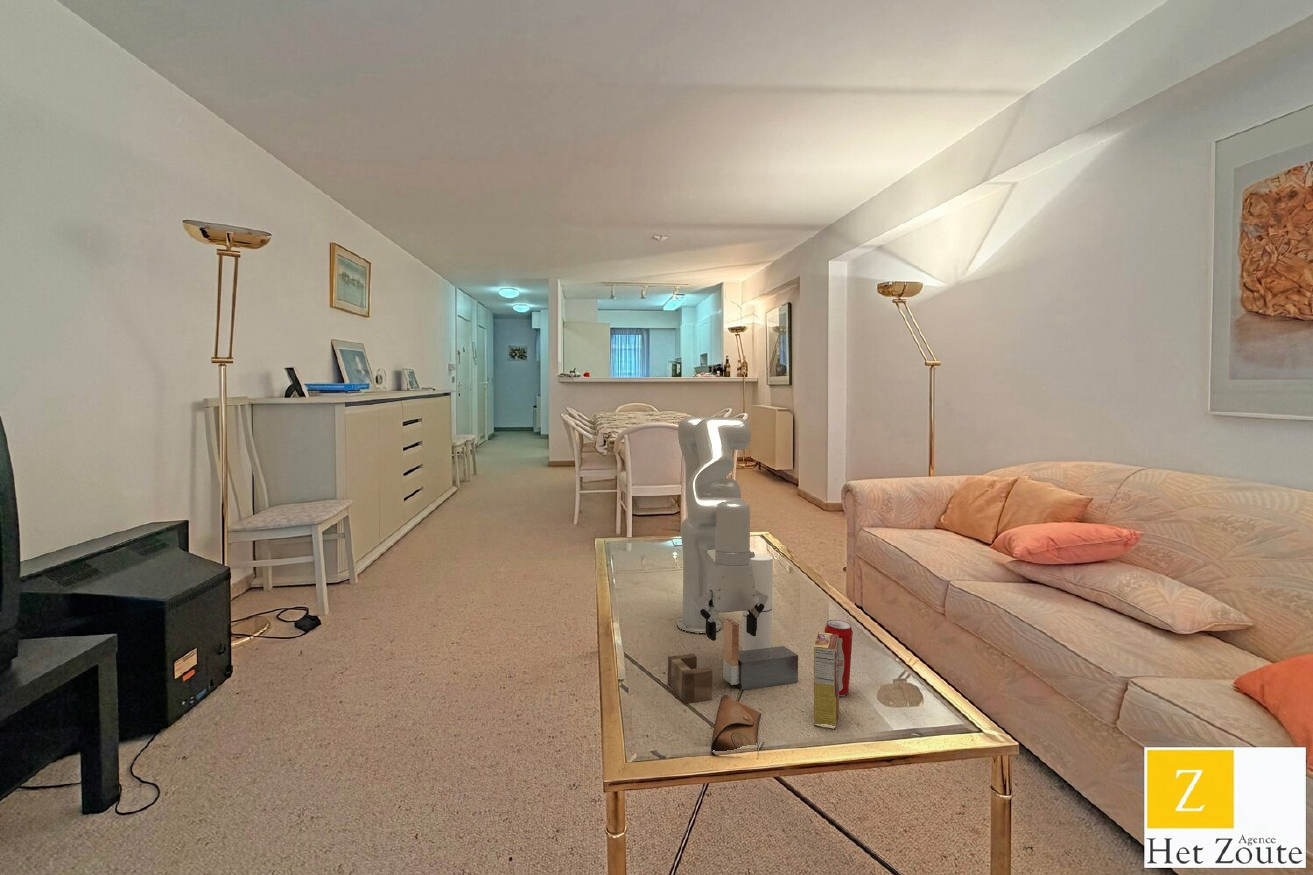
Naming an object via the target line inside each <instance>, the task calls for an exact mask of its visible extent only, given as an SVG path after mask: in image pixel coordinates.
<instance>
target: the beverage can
mask: <svg viewBox="0 0 1313 875" xmlns="http://www.w3.org/2000/svg"><path fill="white" fill-rule="evenodd" d="M823 633H830V634H837V635H838V647H839V648H838V650H839V696H842V697H845V695H846V694H847V695H848V694H849V691H850V680H851V679H850V677H851V676H850V675H851V664H852V651H853V650H852V649H853V633H854V632H853V629H852V625H851V623H850V622H847V621H845V620H841V619H829V620H827V621H826V624H825V627H824V631H823ZM847 695H846V696H847Z"/></svg>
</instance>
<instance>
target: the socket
mask: <svg viewBox="0 0 1313 875" xmlns="http://www.w3.org/2000/svg"><path fill="white" fill-rule="evenodd" d="M667 657H668V658H667V685H668V686H669V687H670V688H671V690H673V691H674V692H675V694H676V695H677V696H678V697H679V698H680V700H682V702H683V704H691V703H698V702H699V703H700V702H704V701H705V702H706V701H711V700H713V670H712V669H711V668H710V667H709V666H706V667H705V666H704V667H700V668H698V667H697V666H698V656H697V655H696V654H695V653H685V654H679V655H678V654H677V655H670V656H667Z"/></svg>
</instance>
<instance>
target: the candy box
mask: <svg viewBox="0 0 1313 875" xmlns="http://www.w3.org/2000/svg"><path fill="white" fill-rule="evenodd" d="M838 648H839V647H838V635H837V634H830V633H824V632H818V633H817V636H816V640H815V642H814V645H813V722H814V724H828V725H832V726H835V725H836V726H837V724H836V723H838V719H837V717H838V718H839V714H838V713H840V697H839V650H838ZM814 724H813V725H814Z"/></svg>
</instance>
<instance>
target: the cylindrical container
mask: <svg viewBox="0 0 1313 875" xmlns="http://www.w3.org/2000/svg"><path fill="white" fill-rule="evenodd" d="M754 554H755V557H754V558H751V559H750V564H752V567H753V572H754V579H755V590H757V591H759V592H761V593H763V594H765V595H767V596H768V599H767V601H766V604H765V605H764V609H763V610H762V611H761V613H760V616H759V617H758V618H757V631H756V636H752V635H750V634H749V633H747V632H746V619H747V614H749V613H748V611H747V610H746V611H742V628H741V630H742V631H741V633H742V634H741V636H742V637H741V645H742V646H741V651H747V650H755V649H763V648H771V647H772V644H773V643H772V642H773V641H772V640H773V638H772V636H773V635H772V632H773V578H774V577H773V572H774V570H773V567H774V566H773V565H774V564H773V563H774V562H773V561H774V559H773V558H774V557H773V556H771V555H767V554H761V553H760V554H759V553H754ZM758 601H759V598H758V597H756V602H755V605H756V604H757V603H758Z"/></svg>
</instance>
